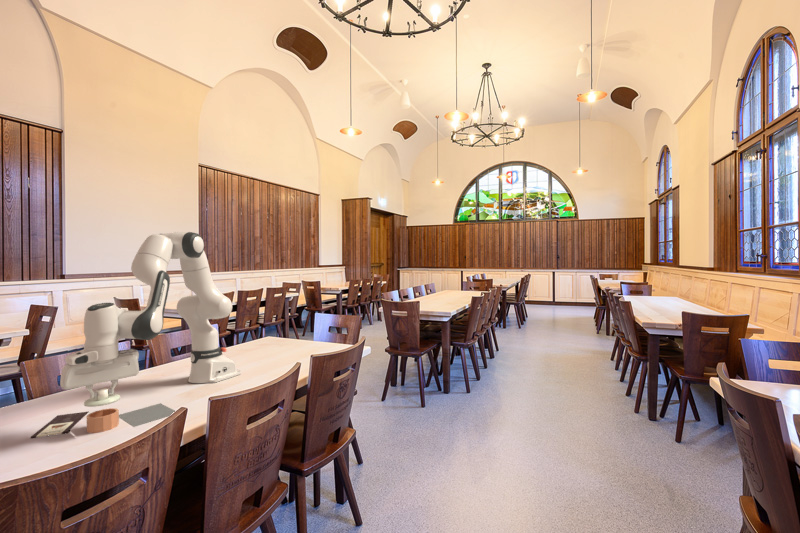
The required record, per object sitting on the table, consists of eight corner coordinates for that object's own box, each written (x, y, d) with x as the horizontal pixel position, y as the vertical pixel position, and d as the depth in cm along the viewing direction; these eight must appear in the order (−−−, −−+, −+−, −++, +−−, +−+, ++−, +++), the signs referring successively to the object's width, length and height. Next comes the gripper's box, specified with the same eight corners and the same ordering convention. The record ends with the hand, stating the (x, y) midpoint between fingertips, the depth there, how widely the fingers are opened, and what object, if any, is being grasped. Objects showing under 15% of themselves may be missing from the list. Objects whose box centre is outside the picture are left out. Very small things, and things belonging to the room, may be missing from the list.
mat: (160, 404, 144) (160, 403, 144) (179, 413, 135) (179, 412, 135) (116, 416, 133) (116, 415, 133) (133, 427, 123) (133, 426, 123)
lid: (113, 394, 129) (113, 383, 129) (124, 400, 124) (124, 388, 124) (79, 403, 122) (79, 391, 122) (89, 408, 117) (89, 396, 117)
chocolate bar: (89, 411, 137) (67, 431, 120) (89, 414, 137) (67, 434, 120) (57, 415, 133) (30, 436, 117) (57, 418, 133) (30, 439, 117)
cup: (113, 421, 129) (113, 406, 129) (122, 427, 124) (121, 411, 124) (83, 429, 122) (83, 414, 122) (91, 436, 118) (91, 420, 118)
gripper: (135, 346, 133) (135, 385, 133) (58, 358, 117) (58, 402, 117) (142, 348, 130) (142, 389, 130) (63, 361, 113) (64, 407, 113)
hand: (102, 395), depth 123 cm, fingers closed on lid, 3 cm apart
